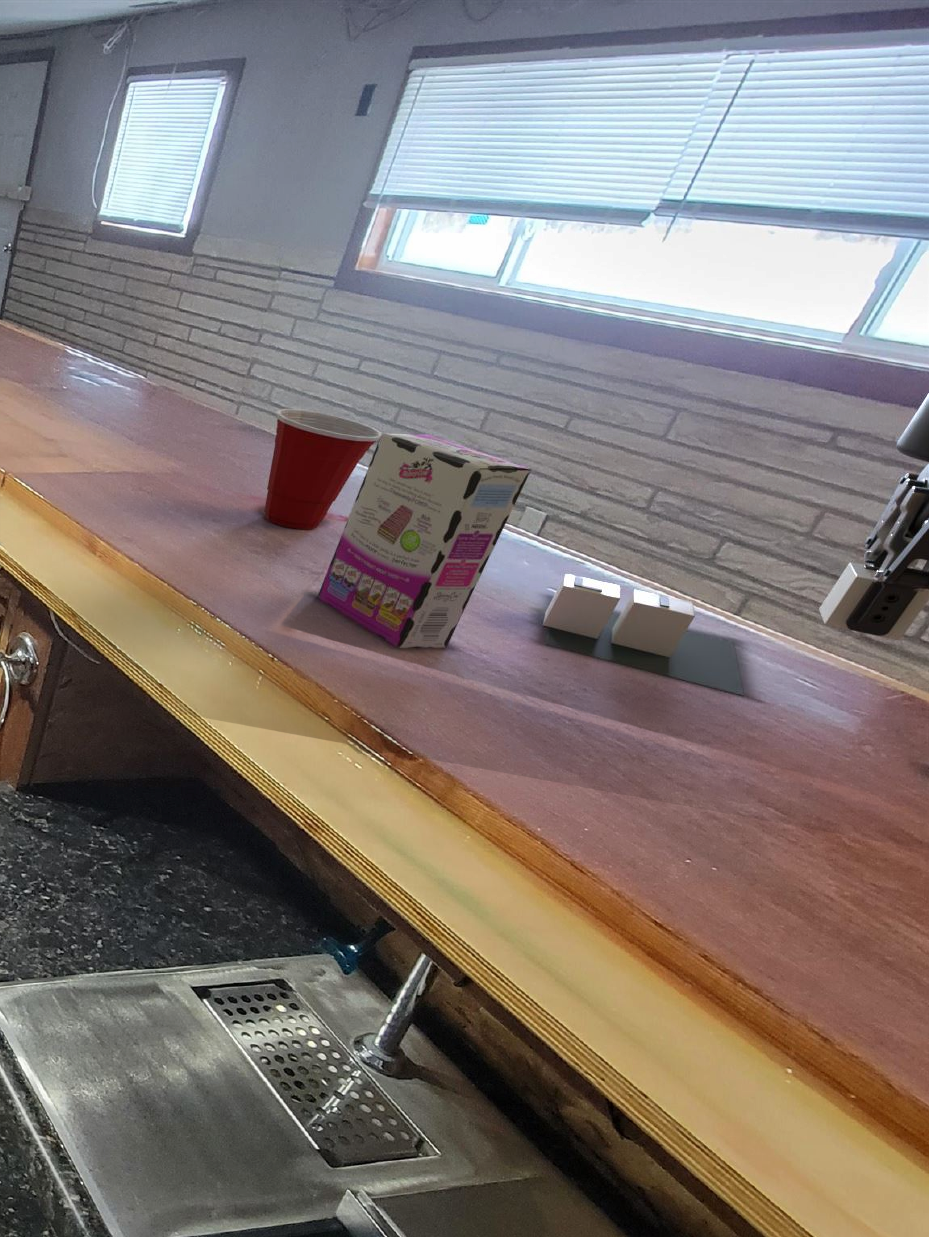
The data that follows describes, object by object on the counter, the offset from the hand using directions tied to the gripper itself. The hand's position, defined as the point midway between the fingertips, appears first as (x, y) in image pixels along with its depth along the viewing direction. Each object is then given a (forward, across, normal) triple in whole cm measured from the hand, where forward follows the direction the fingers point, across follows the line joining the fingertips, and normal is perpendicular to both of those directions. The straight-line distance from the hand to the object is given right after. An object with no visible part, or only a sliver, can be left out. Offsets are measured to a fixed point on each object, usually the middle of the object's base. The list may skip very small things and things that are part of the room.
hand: (860, 621), depth 75 cm
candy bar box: (+8, -8, +29) cm, 31 cm away
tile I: (+7, +4, +10) cm, 13 cm away
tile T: (0, 0, 0) cm, 0 cm away
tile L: (+7, +5, +15) cm, 17 cm away
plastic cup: (+8, +20, +42) cm, 47 cm away
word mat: (+8, +5, +10) cm, 14 cm away
